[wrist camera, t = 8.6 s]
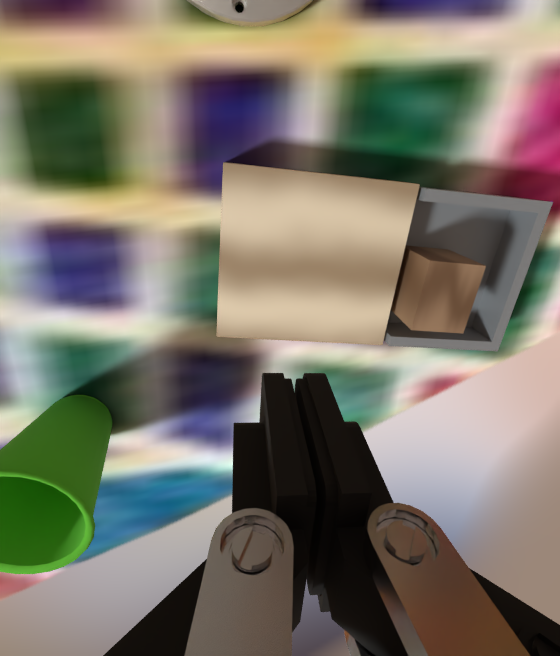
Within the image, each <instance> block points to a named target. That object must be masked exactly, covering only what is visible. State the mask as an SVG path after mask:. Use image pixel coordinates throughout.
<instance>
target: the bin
mask: <svg viewBox="0 0 560 656" xmlns="http://www.w3.org/2000/svg"><path fill="white" fill-rule="evenodd" d="M552 204H553V202H548V201H541V200H534V199H527V198H519V197H510V196H501V195H492V194H483V193H474V192H464V191H455V190H446V189H437V188H428V187H419V190H418V195H417V199H416V203H415V207H414V212H413V216H412V220H411V224H410V229H409V233H408V237H407V242H406V245H408V246H418V247H428V248H438V249H448V250H451V251H453V252H455V253H458V254H460V255H462V256H465V257H467V258H469V259H471V260H474V261H476V262H478V263H481V264H483V265H485V266H486V268H485V271H484V274H483V277H482V280H481V283H480V286H479V288H478V291H477V294H476V297H475V300H474V303H473V306H472V309H471V312H470V315H469V318H468V321H467V324H466V327H465V330H464V333H448V332H433V331H418V330H411V329H410V328H409V327H408V326H407V325H406V324H405V323H404V322H403V321H402V320H401V319H400V318H399V317H398V316H396V315H395V314H394V313H393V312H392V311H391V310H390V314H389V319H388V323H387V327H386V331H385V336H384V341H385V342H386V343H387V344H388V346H403V347H423V348H443V349H463V350H484V351H498V349H499V346H500V344H501V341H502V338H503V335H504V333H505V330H506V327H507V325H508V322H509V319H510V317H511V314H512V311H513V309H514V306H515V303H516V300H517V298H518V295H519V292H520V290H521V287H522V284H523V282H524V279H525V276H526V274H527V271H528V268H529V266H530V263H531V260H532V257H533V255H534V252H535V249H536V247H537V244H538V241H539V239H540V236H541V233H542V231H543V228H544V225H545V223H546V220H547V217H548V214H549V212H550V209H551V206H552Z"/></svg>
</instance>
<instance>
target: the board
mask: <svg viewBox="0 0 560 656" xmlns="http://www.w3.org/2000/svg"><path fill="white" fill-rule="evenodd" d="M419 186H420V184H414V183H407V182H400V181H391V180H382V179H372V178H363V177H354V176H345V175H336V174H327V173H318V172H309V171H300V170H291V169H282V168H272V167H263V166H254V165H245V164H236V163H227V162H224V163H223V183H222V209H221V234H220V260H219V285H218V311H217V336H216V337H230V338H251V339H271V340H291V341H311V342H331V343H351V344H371V345H382V344H383V340H384V336H385V331H386V327H387V323H388V319H389V314H390V310H391V306H392V301H393V297H394V293H395V289H396V284H397V280H398V276H399V271H400V267H401V263H402V259H403V254H404V250H405V246H406V242H407V237H408V233H409V229H410V224H411V220H412V216H413V212H414V207H415V203H416V199H417V195H418V190H419Z"/></svg>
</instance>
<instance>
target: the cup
mask: <svg viewBox="0 0 560 656" xmlns="http://www.w3.org/2000/svg"><path fill="white" fill-rule="evenodd" d="M111 430H112V418H111V414H110V412H109V410H108V408H107V407H106V406H105V405H104V404H103V403H102V402H100V401H99V400H97V399H95V398H93V397H90V396H86V395H71V396H68V397H65V398H62V399H60V400H59V401H57V402H55V403H54V404H53V405H52V406H51V407H50V408H48V409H47V410H46V411H45V412H44V413H43V414H41V415H40V416H39V417H38V418H37V419H36V420H34V421H33V422H32V423H31V424H30V425H29V426H27V427H26V428H25V429H24V430H23V431H22V432H21V433H19V434H18V435H17V436H16V437H15V438H14V439H12V440H11V441H10V442H9V443H8V444H7V445H5V446H4V447H3V448H2V449H1V450H0V572H6V573H13V574H36V573H42V572H49V571H52V570H55V569H58V568H61V567H64V566H66V565H67V564H69V563H71V562H73V561H74V560H76V559H77V558H78V557H79V556H80V555H81V554H82V553H83V552H84V551H85V550H86V549H87V548H88V547H89V545H90V543H91V541H92V539H93V537H94V531H95V523H94V519H93V513H94V508H95V504H96V499H97V495H98V490H99V485H100V481H101V476H102V471H103V467H104V462H105V457H106V453H107V448H108V444H109V439H110V434H111Z"/></svg>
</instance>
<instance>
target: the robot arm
mask: <svg viewBox="0 0 560 656" xmlns="http://www.w3.org/2000/svg"><path fill="white" fill-rule="evenodd" d="M187 1H188V2H190V3H191V4H192V5H194V6H195V7H197V8H198V9H199V10H201V11H202V12H203V13H205V14H207V15H210V16H212V17H214V18H216V19H218V20H220V21H223V22H226V23H230V24H235V25H240V26H265V25H269V24H273V23H277V22H280V21H283V20H285V19H287V18H289V17H291V16H293V15H295V14H297V13H298V12H300V11H301V10H303V9H304V8H305V7H306V6H307V5H309V4H310V3H311V2H312V1H313V0H187ZM238 4H240V5H242V6H243V8H244V10H243V12H242V13H238V12H237V11H236V10H235V7H236V5H238ZM306 579H307V584H308V590H309V594H310V595H318V600H319V605H320V611H321V612H328V611H330V612H331V617H332V620H334V621H335V622H336V623H337V624H338V625H340V626H341V627H342V628H343V629H344V634H345V639H346V644H347V647H348V650H349V653H350V656H560V625H559V624H557V623H556V622H554V621H552V620H551V619H549V618H548V617H546V616H545V615H543V614H541V613H540V612H538V611H537V610H535V609H533V608H532V607H530V606H529V605H527V604H525V603H524V602H522V601H521V600H519V599H518V598H516V597H514V596H513V595H511V594H510V593H508V592H506V591H505V590H503V589H501V588H500V587H498V586H497V585H495V584H493V583H492V582H490V581H489V580H487V579H486V578H484V577H483V576H481V575H479V574H478V573H476V572H475V571H473V570H471V569H470V568H468V566H467V565H466V564H465V562H464V561H463V559H462V558H461V556H460V555H459V553H458V552H457V551H456V549H455V548H454V546H453V545H452V544H451V542H450V541H449V539H448V538H447V536H446V535H445V534H444V532H443V531H442V529H441V528H440V527H439V526H438V525H437V523H436V522H435V521H434V520H433V519H432V518H431V517H429V516H428V515H427V514H425V513H424V512H423V511H421V510H419V509H417V508H414V507H412V506H410V505H406V504H401V503H393V500H392V498H391V496H390V494H389V491H388V489H387V487H386V485H385V483H384V480H383V478H382V476H381V473H380V471H379V469H378V467H377V465H376V462H375V460H374V458H373V455H372V453H371V451H370V449H369V446H368V444H367V442H366V440H365V437H364V435H363V433H362V431H361V428H360V426H359V425H358V423H357V422H344V420H343V417H342V415H341V412H340V410H339V407H338V405H337V402H336V399H335V397H334V394H333V392H332V389H331V387H330V384H329V382H328V379H327V377H326V375H325V374H324V373H304V375H303V379H296V384H295V393H294V389H293V384H292V380H291V379H284V375H283V373H263V374H262V387H261V405H260V423H234V438H233V494H232V514H231V515H229V516H228V517H226V518H225V519H223V521H222V522H221V523H220V524H219V525H218V527H217V528H216V530H215V532H214V535H213V537H212V540H211V544H210V548H209V553H208V557H207V559H206V560H205V561H204V562H203V563H202V564H201V565H200V566H199V567H197V568H196V569H195V570H194V571H193V572H192V573H191V574H190V575H189V576H188V577H187V578H186V579H185V580H184V581H183V582H181V584H179V585H178V586H177V587H176V588H175V589H174V590H173V591H172V592H171V593H170V594H169V595H168V596H167V597H166V598H164V599H163V600H162V601H161V602H160V603H159V604H158V605H157V606H156V607H155V608H154V609H153V610H152V611H151V612H149V613H148V614H147V615H146V616H145V617H144V618H143V619H142V620H141V621H140V622H139V623H138V624H137V625H136V626H134V628H132V629H131V630H130V631H129V632H128V633H127V634H126V635H125V636H124V637H123V638H122V639H121V640H120V641H118V642H117V643H116V644H115V645H114V646H113V647H112V648H111V649H110V650H109V651H108V652H107V653H106V654H105V655H103V656H292V632H293V631H294V629H295V628H296V626H297V625H298V624H299V622H300V618H301V611H302V605H303V597H304V591H305V585H306Z"/></svg>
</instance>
